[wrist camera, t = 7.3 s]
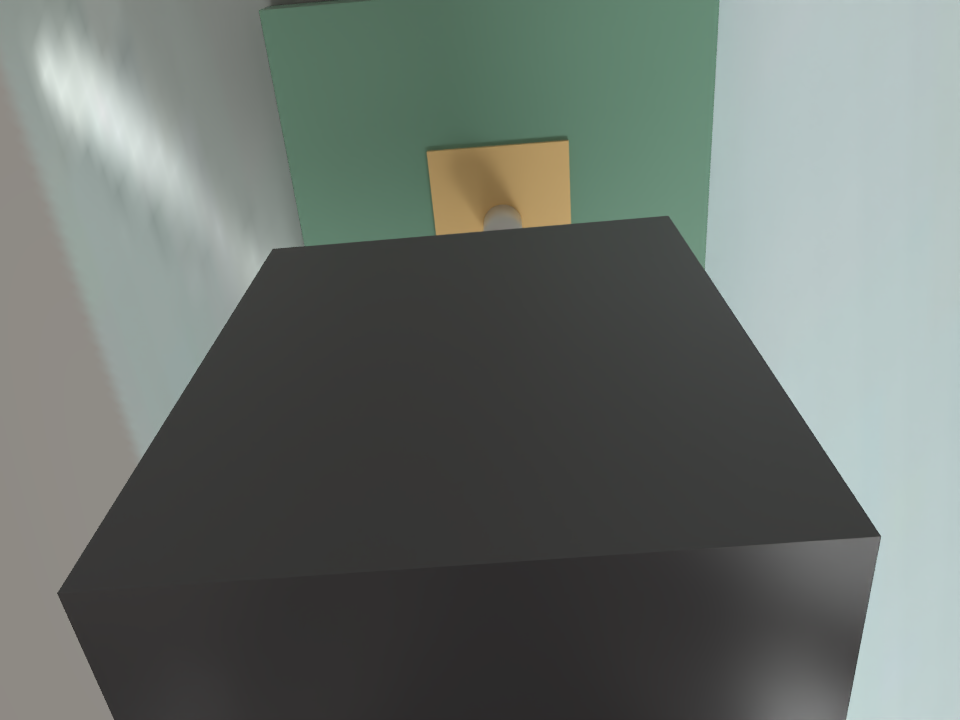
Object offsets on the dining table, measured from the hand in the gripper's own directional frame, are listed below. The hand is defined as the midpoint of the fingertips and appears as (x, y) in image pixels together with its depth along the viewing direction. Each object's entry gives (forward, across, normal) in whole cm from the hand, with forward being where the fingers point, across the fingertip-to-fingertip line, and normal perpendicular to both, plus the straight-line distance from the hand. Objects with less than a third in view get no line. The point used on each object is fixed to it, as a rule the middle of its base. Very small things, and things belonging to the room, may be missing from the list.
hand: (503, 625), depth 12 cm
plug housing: (+1, 0, 0) cm, 1 cm away
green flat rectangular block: (+10, 0, 0) cm, 10 cm away
